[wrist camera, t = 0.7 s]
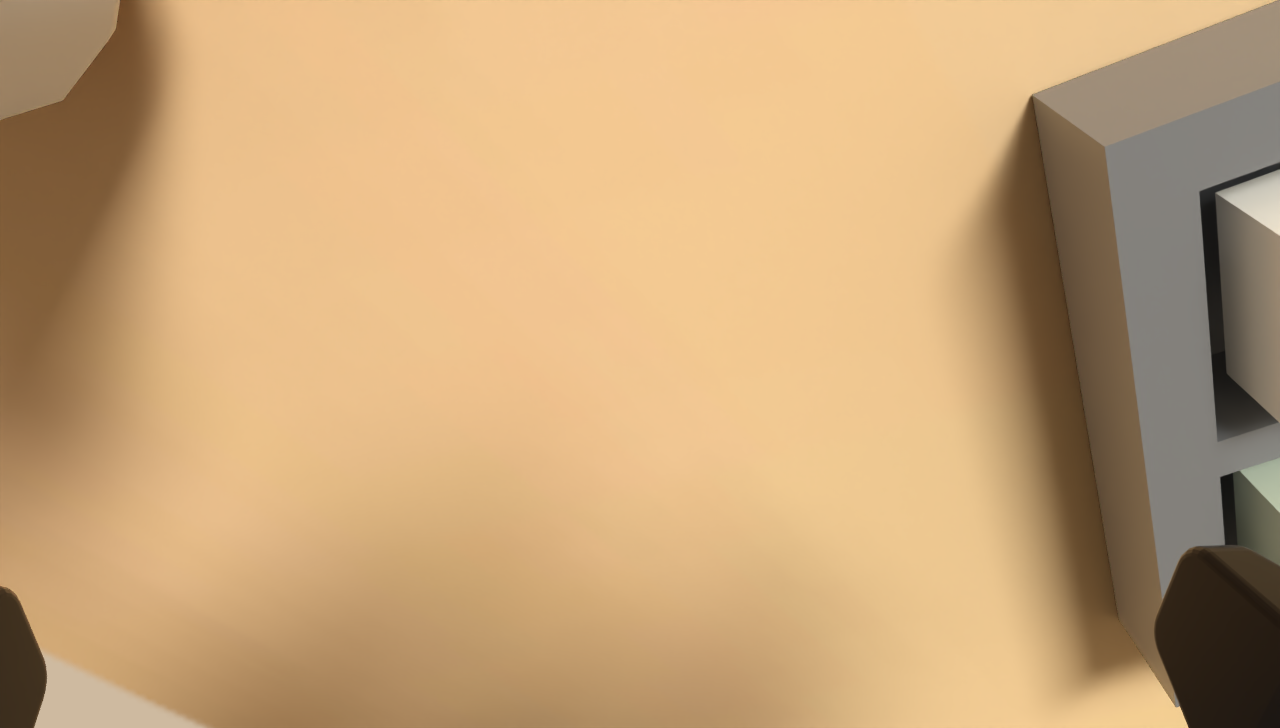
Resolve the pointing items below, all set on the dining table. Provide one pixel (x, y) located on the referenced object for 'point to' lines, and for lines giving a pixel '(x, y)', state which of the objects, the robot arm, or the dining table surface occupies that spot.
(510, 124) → the dining table surface
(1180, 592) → the robot arm
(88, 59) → the salt shaker
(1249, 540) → the key sage
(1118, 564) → the keypad
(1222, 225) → the key offwhite
